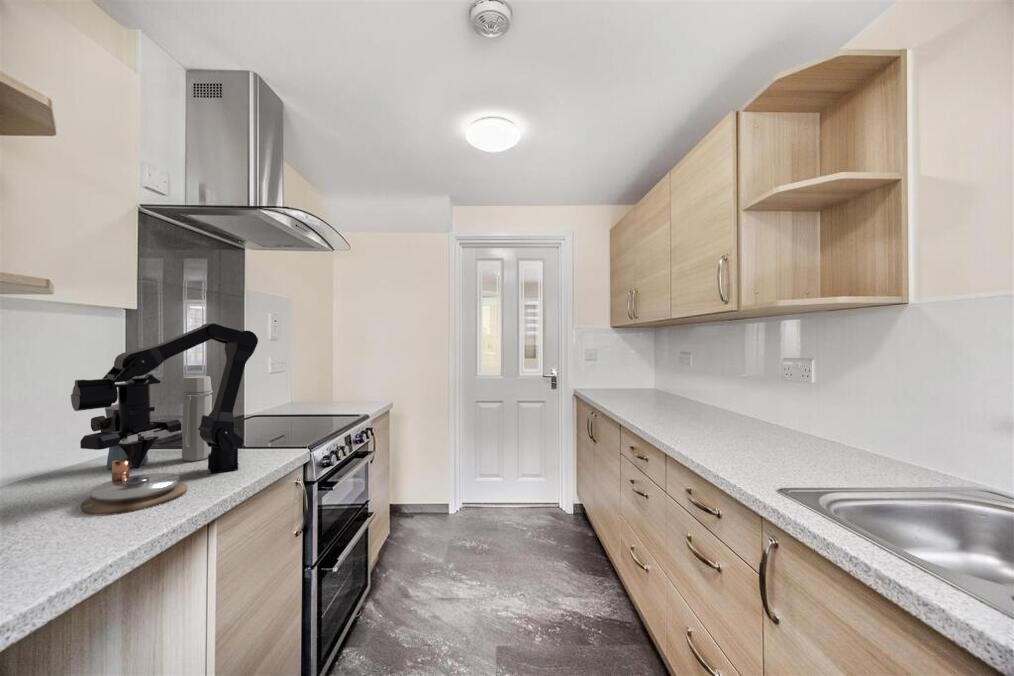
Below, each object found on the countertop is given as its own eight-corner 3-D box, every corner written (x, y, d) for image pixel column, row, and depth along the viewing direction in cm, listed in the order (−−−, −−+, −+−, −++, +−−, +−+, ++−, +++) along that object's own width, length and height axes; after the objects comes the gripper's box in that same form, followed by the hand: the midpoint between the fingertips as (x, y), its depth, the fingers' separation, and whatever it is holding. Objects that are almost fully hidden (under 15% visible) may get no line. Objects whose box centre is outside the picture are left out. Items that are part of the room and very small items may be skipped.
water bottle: (190, 456, 131) (191, 376, 131) (217, 455, 132) (218, 376, 132) (170, 464, 122) (171, 378, 122) (199, 463, 123) (200, 378, 123)
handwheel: (193, 486, 100) (194, 458, 100) (115, 509, 86) (115, 477, 86) (153, 478, 105) (154, 451, 105) (74, 499, 91) (74, 468, 91)
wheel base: (190, 480, 108) (190, 475, 108) (181, 503, 93) (182, 497, 93) (94, 493, 98) (95, 488, 98) (67, 521, 83) (67, 515, 83)
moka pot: (94, 474, 112) (95, 400, 112) (115, 460, 126) (116, 393, 126) (140, 469, 116) (141, 398, 117) (155, 456, 130) (156, 392, 130)
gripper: (148, 396, 111) (149, 455, 112) (60, 410, 93) (62, 479, 93) (182, 398, 109) (183, 457, 109) (99, 412, 91) (101, 483, 91)
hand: (135, 468), depth 101 cm, fingers closed
